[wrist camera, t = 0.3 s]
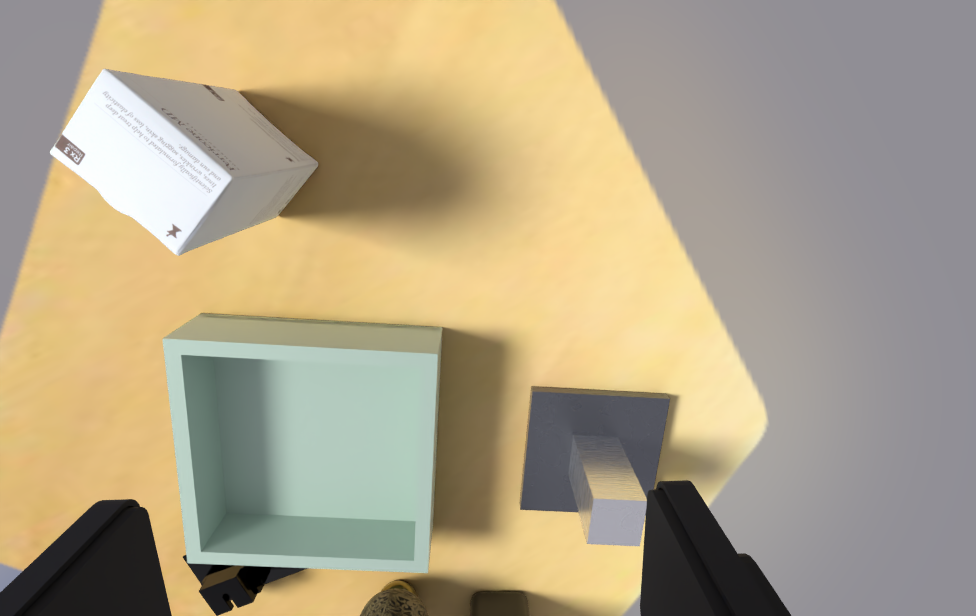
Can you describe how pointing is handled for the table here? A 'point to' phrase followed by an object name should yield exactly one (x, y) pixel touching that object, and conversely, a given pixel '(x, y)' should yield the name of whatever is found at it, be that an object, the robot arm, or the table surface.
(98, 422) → the table surface
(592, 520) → the strut
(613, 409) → the stud plate
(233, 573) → the black slotted box
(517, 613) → the wine bottle
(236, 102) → the skincare box
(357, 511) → the bin
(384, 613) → the cup
